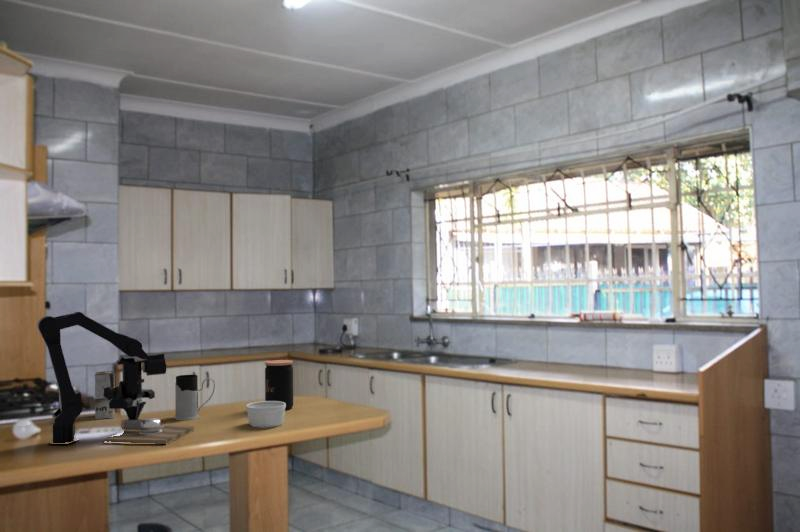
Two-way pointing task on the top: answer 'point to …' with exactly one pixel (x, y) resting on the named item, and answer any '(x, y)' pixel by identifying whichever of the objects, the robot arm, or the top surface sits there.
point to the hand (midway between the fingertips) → (133, 425)
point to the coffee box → (101, 402)
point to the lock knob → (142, 424)
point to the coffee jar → (279, 382)
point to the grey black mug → (187, 397)
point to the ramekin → (266, 413)
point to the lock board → (152, 435)
